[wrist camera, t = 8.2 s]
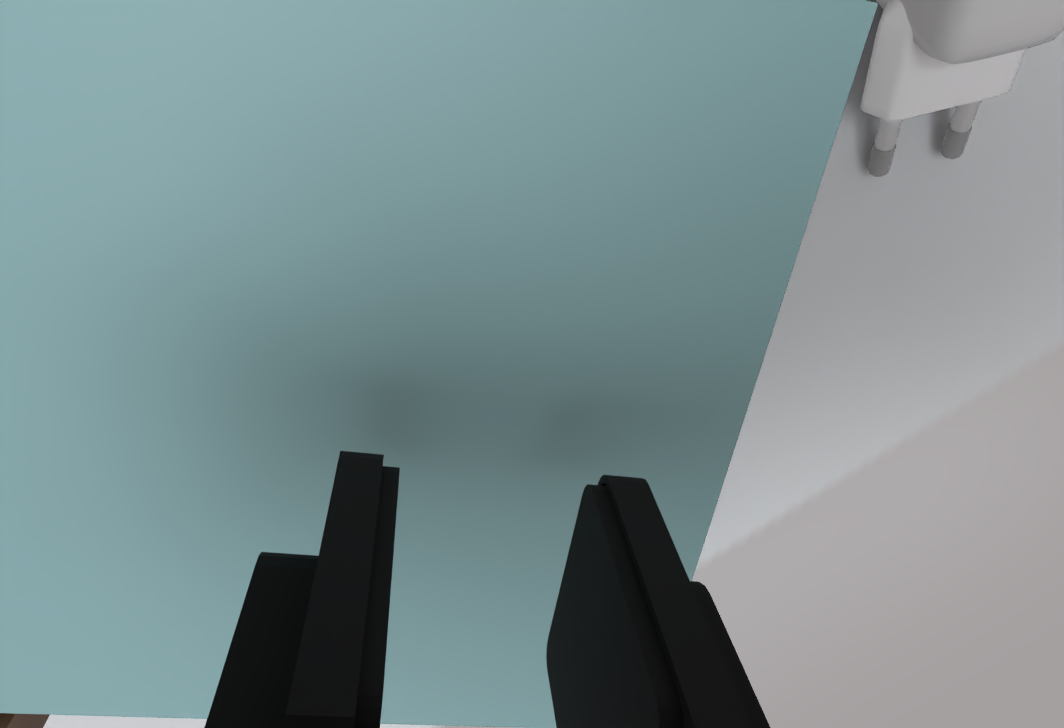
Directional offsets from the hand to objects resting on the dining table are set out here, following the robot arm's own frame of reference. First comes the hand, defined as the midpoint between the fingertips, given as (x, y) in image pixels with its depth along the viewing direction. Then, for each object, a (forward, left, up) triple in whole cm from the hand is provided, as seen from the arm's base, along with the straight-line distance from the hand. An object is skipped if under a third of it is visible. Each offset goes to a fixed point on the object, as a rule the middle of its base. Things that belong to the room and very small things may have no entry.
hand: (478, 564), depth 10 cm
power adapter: (-11, -10, -15) cm, 21 cm away
